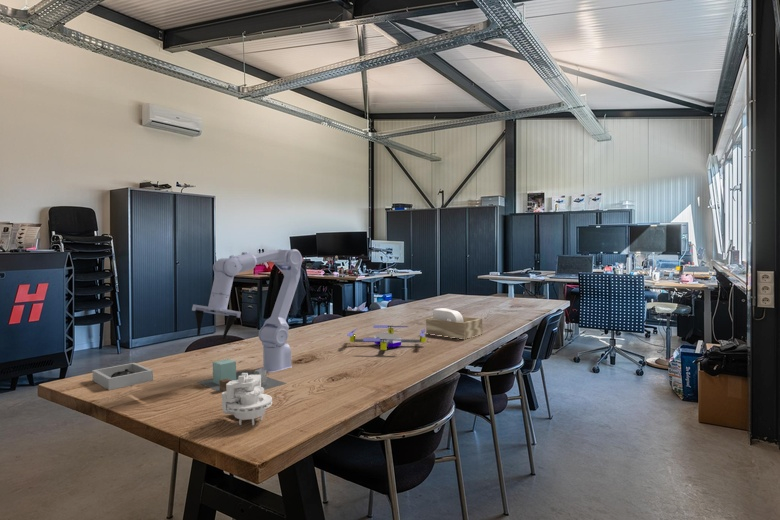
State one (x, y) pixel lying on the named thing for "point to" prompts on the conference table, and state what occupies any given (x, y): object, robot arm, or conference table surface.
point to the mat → (210, 384)
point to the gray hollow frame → (137, 376)
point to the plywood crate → (454, 327)
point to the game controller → (121, 373)
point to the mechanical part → (245, 398)
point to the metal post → (262, 376)
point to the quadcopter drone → (387, 338)
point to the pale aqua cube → (224, 370)
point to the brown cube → (223, 384)
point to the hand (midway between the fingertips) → (211, 337)
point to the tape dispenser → (447, 315)
